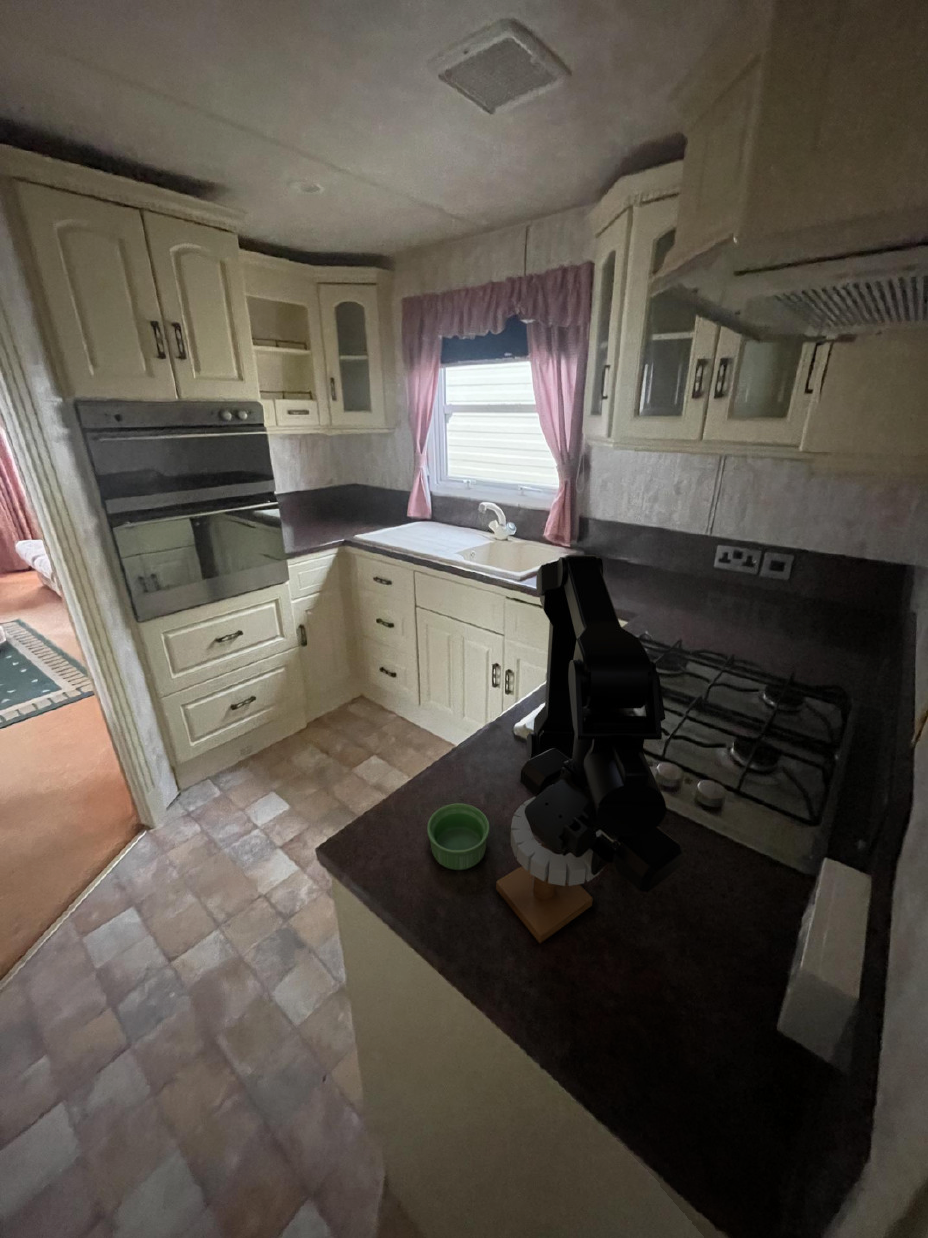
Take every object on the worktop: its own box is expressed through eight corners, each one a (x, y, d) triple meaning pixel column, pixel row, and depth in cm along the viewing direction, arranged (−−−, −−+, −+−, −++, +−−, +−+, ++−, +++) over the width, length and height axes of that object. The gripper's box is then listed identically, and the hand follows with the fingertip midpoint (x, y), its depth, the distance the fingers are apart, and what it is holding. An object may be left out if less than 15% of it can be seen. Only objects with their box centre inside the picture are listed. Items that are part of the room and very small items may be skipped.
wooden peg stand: (495, 889, 70) (497, 843, 66) (545, 858, 74) (549, 814, 71) (539, 943, 63) (543, 896, 59) (591, 905, 67) (598, 859, 64)
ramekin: (422, 831, 79) (421, 810, 77) (478, 819, 81) (478, 797, 79) (435, 881, 71) (434, 858, 69) (497, 865, 73) (498, 843, 71)
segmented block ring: (492, 832, 65) (492, 818, 64) (561, 795, 71) (562, 781, 70) (555, 904, 56) (556, 889, 55) (628, 854, 62) (631, 840, 61)
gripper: (484, 739, 56) (483, 842, 63) (618, 858, 42) (599, 974, 49) (559, 705, 62) (551, 803, 68) (700, 801, 48) (672, 912, 54)
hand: (586, 864), depth 60 cm, fingers closed on segmented block ring, 2 cm apart
